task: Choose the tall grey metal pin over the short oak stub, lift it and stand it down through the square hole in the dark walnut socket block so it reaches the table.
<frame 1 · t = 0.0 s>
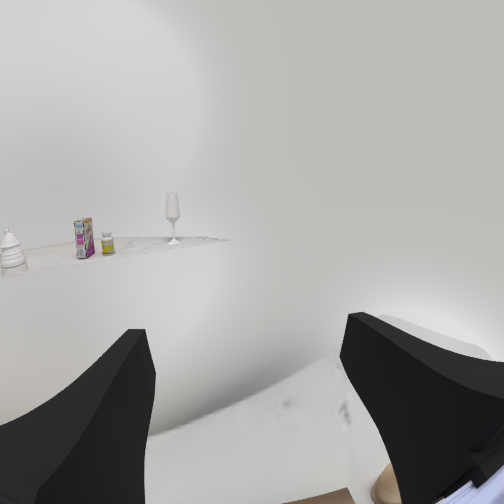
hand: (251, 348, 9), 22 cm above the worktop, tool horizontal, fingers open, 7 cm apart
champagne flute: (174, 243, 131), on the worktop
honey pot: (15, 272, 83), on the worktop
candy bar box: (87, 256, 108), on the worktop
oak stub: (392, 492, 16), on the worktop
supplement bottle: (109, 254, 110), on the worktop
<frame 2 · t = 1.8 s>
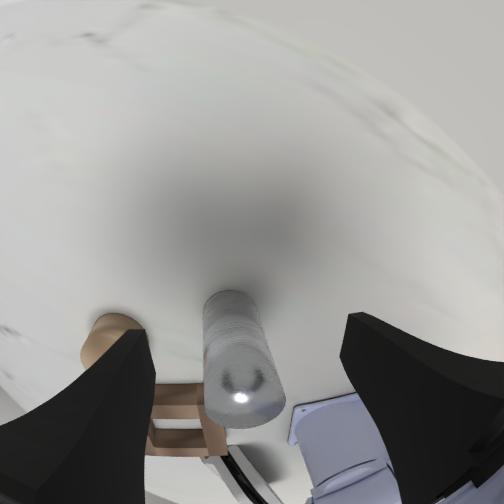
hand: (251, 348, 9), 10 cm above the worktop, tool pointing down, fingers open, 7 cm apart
socket block: (175, 415, 24), on the worktop
hinge: (246, 467, 30), on the worktop
oak stub: (120, 337, 20), on the worktop
tall pin: (229, 314, 20), on the worktop
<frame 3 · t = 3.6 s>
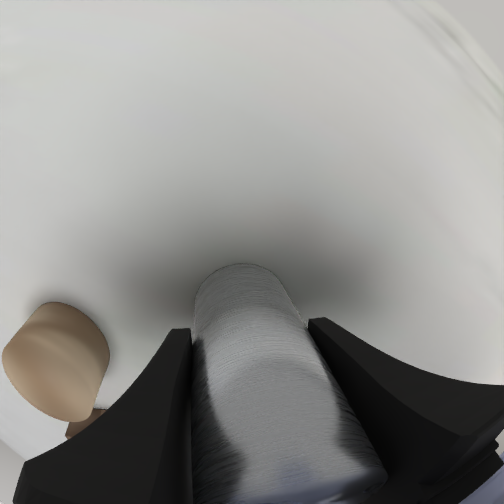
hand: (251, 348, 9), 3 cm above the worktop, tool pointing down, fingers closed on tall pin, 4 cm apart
socket block: (160, 450, 15), on the worktop
oak stub: (69, 342, 11), on the worktop
tall pin: (241, 306, 12), on the worktop, touching gripper
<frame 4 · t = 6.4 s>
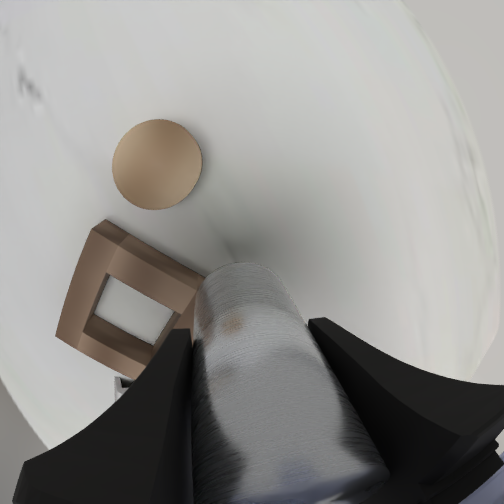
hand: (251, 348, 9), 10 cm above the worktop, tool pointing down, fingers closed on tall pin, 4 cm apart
socket block: (135, 305, 19), on the worktop
oak stub: (165, 163, 16), on the worktop
tall pin: (241, 305, 12), point 7 cm above the worktop, touching gripper
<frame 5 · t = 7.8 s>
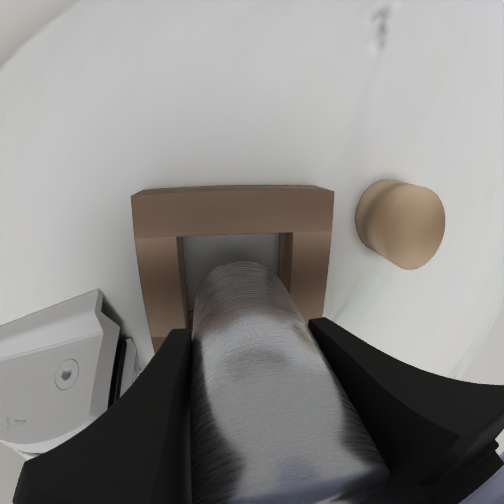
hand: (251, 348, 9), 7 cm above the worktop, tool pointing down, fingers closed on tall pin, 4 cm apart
socket block: (232, 268, 16), on the worktop
hinge: (52, 354, 17), on the worktop
oak stub: (385, 216, 17), on the worktop
tall pin: (241, 304, 12), point 4 cm above the worktop, touching gripper
when the fingers open (4 cm above the worktop, at t = 9.0 s): tall pin stays where it is, resting in socket block.
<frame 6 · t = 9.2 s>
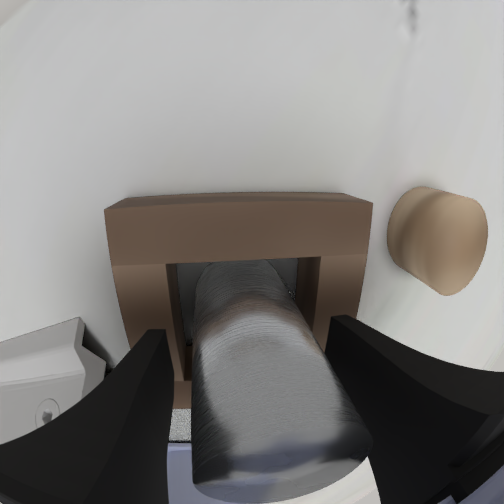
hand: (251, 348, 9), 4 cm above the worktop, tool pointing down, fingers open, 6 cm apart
socket block: (238, 296, 13), on the worktop
hinge: (36, 381, 13), on the worktop
oak stub: (418, 229, 13), on the worktop
tall pin: (239, 293, 13), resting in socket block
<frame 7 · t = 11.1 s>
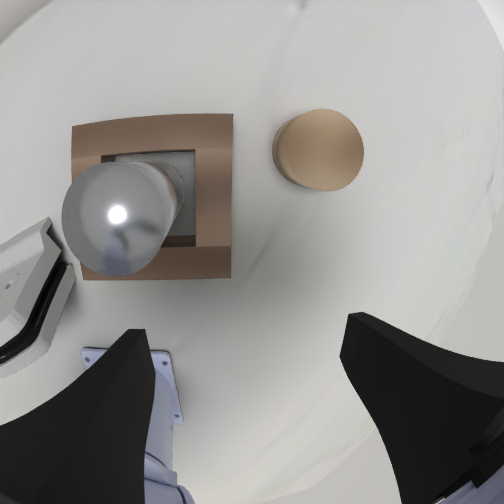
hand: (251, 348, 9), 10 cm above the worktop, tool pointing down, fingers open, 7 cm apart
socket block: (154, 195, 17), on the worktop
hinge: (11, 289, 17), on the worktop
oak stub: (306, 151, 18), on the worktop
tall pin: (155, 193, 17), resting in socket block
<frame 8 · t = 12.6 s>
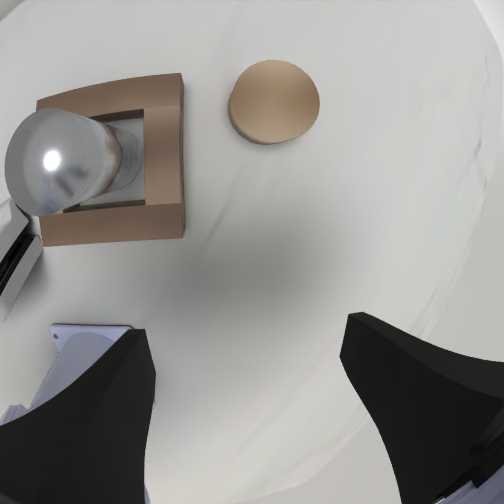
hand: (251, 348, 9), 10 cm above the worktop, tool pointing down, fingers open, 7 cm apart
socket block: (112, 161, 16), on the worktop
oak stub: (264, 109, 17), on the worktop
tall pin: (112, 159, 16), resting in socket block
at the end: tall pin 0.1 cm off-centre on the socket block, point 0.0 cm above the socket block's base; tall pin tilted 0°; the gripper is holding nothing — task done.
